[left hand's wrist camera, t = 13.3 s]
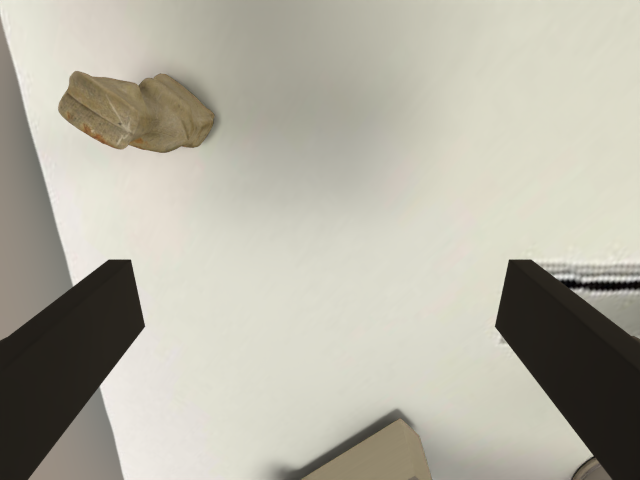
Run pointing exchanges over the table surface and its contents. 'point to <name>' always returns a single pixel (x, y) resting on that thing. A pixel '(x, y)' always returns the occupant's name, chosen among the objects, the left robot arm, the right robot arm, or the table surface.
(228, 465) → the table surface
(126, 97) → the sculpture
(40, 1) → the table surface
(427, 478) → the bar
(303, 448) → the table surface
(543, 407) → the table surface
